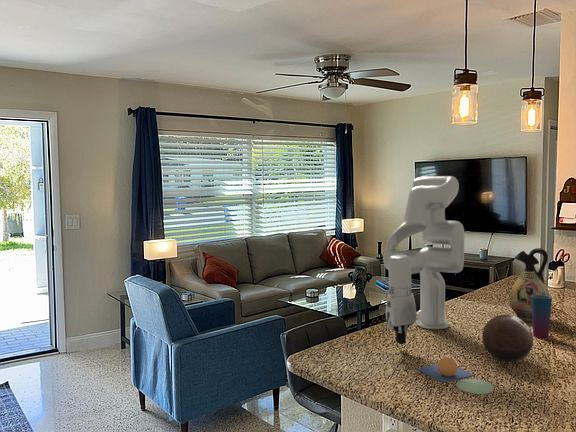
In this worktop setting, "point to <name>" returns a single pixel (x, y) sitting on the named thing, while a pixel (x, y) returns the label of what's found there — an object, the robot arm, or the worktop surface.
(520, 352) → the wooden sphere
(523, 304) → the ceramic jug
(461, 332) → the worktop surface
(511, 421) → the worktop surface
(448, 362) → the egg
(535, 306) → the cup
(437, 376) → the blue square tile
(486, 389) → the far disc
